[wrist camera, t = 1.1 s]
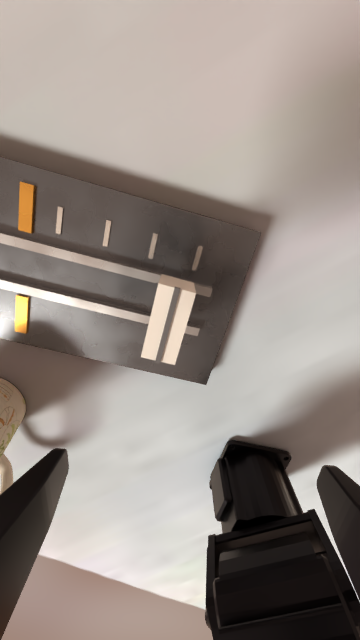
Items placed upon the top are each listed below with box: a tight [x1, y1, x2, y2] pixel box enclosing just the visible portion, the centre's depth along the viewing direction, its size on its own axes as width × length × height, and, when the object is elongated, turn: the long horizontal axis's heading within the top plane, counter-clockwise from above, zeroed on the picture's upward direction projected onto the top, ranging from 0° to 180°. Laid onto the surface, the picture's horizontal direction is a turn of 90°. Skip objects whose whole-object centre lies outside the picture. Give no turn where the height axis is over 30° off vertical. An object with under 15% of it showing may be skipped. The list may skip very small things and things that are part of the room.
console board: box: [0, 157, 261, 385], centre depth 18 cm, size 19×12×2 cm, turn 75°
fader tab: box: [141, 274, 196, 365], centre depth 16 cm, size 2×4×5 cm, turn 165°
